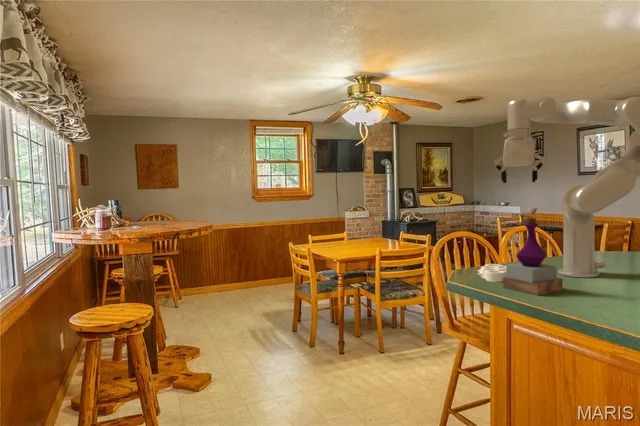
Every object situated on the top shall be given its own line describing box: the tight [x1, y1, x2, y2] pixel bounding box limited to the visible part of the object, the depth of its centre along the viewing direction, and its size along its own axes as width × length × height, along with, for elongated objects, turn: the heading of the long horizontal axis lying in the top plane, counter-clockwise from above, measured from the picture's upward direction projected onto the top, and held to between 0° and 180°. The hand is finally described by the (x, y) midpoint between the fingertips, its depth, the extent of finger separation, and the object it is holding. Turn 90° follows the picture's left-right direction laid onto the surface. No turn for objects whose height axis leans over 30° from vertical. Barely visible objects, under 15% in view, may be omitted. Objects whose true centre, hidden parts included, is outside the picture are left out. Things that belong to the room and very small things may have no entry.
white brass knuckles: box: [477, 263, 506, 283], centre depth 156 cm, size 3×18×15 cm
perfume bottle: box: [515, 207, 548, 267], centre depth 136 cm, size 8×8×18 cm
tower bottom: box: [502, 277, 563, 297], centre depth 137 cm, size 12×12×4 cm
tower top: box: [505, 262, 558, 283], centre depth 136 cm, size 10×10×4 cm
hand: (519, 182), depth 158 cm, fingers open, 9 cm apart
